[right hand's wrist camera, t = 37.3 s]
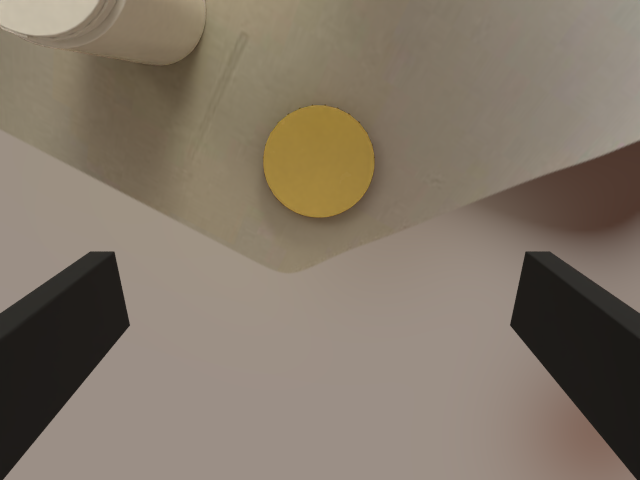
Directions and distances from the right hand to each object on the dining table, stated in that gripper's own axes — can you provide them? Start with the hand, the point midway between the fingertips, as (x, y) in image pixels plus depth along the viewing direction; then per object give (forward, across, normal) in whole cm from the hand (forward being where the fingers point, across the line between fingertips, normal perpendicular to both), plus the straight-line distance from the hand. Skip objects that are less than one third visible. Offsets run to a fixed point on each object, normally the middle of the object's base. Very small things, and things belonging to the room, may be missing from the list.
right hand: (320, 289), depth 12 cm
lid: (+24, 0, 0) cm, 25 cm away
